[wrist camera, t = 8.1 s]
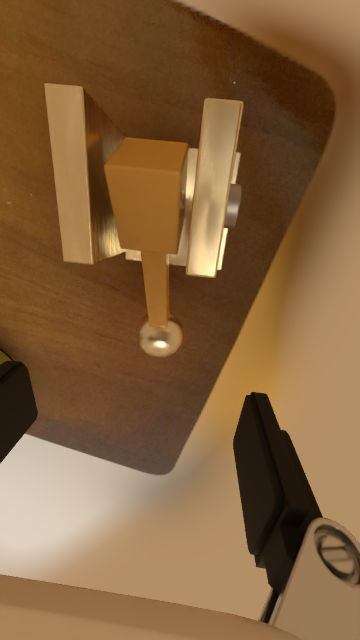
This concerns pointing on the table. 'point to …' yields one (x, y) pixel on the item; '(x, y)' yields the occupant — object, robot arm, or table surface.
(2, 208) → the table surface
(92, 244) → the switch bracket
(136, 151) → the switch lever
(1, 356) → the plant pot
